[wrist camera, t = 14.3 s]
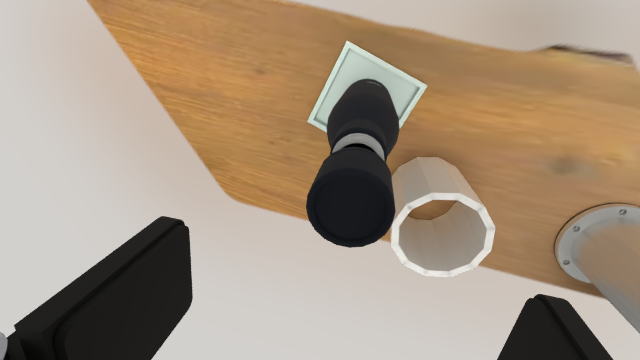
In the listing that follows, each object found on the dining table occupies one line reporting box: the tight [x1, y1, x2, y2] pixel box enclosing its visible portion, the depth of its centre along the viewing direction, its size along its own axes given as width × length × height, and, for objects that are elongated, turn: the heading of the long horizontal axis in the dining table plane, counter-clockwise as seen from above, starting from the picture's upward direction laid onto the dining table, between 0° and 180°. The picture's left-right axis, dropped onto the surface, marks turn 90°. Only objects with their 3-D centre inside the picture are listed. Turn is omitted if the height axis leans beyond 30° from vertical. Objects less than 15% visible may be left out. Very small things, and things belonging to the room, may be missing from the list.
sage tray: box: [307, 41, 427, 132], centre depth 40 cm, size 11×11×2 cm
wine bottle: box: [306, 79, 400, 247], centre depth 27 cm, size 6×6×30 cm
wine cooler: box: [390, 157, 496, 277], centre depth 40 cm, size 11×11×12 cm
